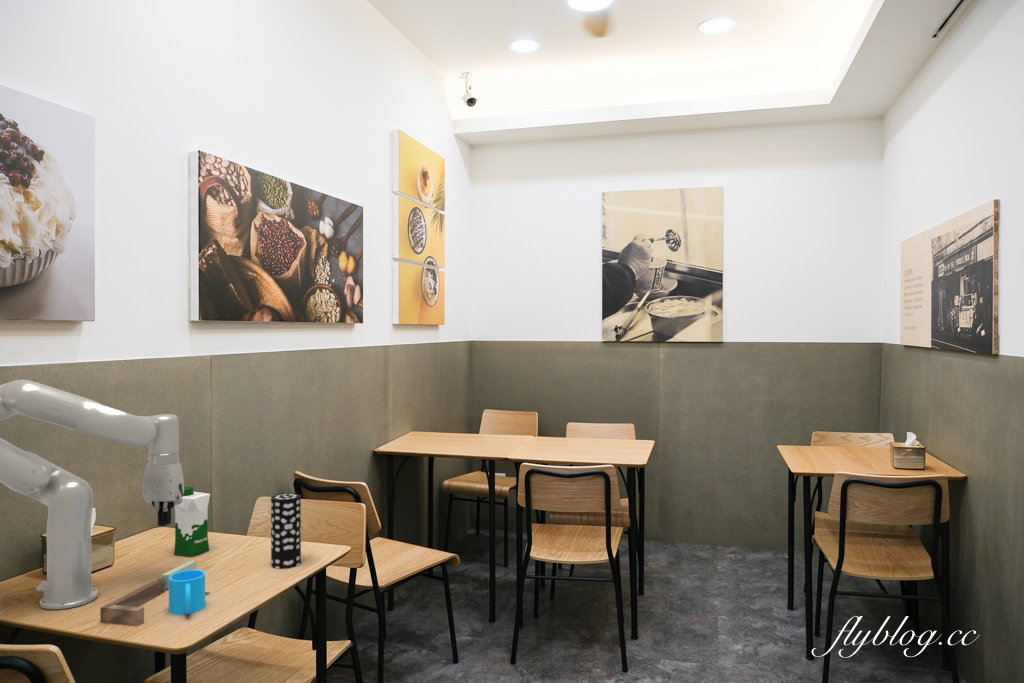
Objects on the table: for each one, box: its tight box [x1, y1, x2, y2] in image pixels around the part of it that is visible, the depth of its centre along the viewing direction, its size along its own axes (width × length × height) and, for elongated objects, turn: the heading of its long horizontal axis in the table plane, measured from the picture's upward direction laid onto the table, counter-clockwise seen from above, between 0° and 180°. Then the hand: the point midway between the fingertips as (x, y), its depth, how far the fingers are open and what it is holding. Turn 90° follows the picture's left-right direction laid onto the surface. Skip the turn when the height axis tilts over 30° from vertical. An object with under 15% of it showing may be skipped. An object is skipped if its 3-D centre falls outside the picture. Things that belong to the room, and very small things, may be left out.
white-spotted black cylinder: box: [270, 492, 302, 570], centre depth 202 cm, size 8×8×20 cm
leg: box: [161, 560, 197, 589], centre depth 187 cm, size 12×2×4 cm, turn 169°
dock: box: [99, 577, 211, 627], centre depth 170 cm, size 14×21×4 cm, turn 169°
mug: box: [168, 569, 206, 616], centre depth 168 cm, size 12×8×8 cm
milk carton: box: [173, 486, 211, 558], centre depth 213 cm, size 9×9×20 cm
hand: (164, 524), depth 191 cm, fingers closed
